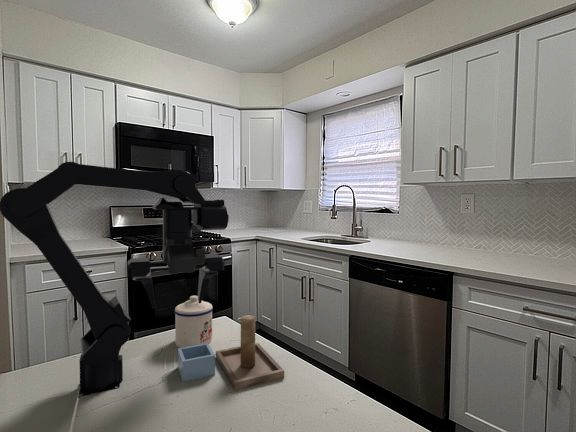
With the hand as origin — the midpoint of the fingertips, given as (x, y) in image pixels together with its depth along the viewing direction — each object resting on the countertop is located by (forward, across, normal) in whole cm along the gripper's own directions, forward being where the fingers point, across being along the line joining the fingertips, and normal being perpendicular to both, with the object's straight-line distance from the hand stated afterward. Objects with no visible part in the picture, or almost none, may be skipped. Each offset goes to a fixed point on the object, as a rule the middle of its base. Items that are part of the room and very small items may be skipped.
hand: (177, 305), depth 69 cm
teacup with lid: (+13, +6, +11) cm, 18 cm away
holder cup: (+13, +3, -5) cm, 14 cm away
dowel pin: (+12, +13, -8) cm, 19 cm away
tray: (+13, +13, -8) cm, 20 cm away
